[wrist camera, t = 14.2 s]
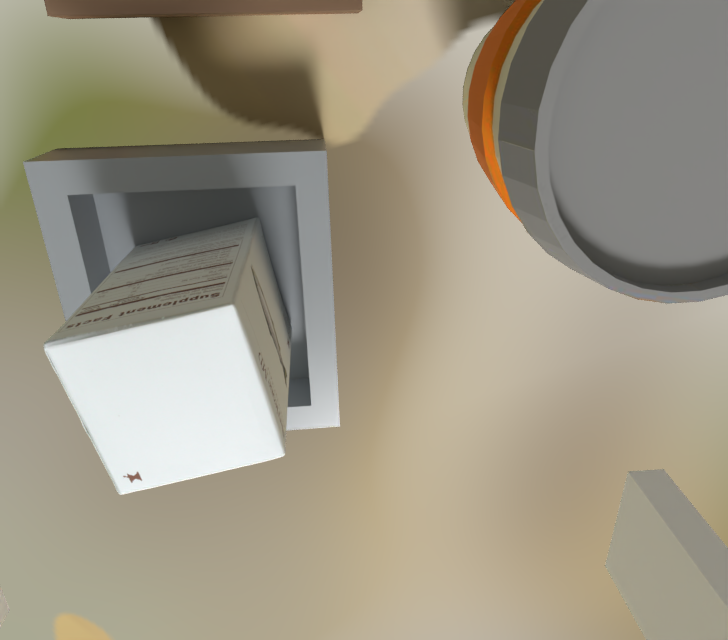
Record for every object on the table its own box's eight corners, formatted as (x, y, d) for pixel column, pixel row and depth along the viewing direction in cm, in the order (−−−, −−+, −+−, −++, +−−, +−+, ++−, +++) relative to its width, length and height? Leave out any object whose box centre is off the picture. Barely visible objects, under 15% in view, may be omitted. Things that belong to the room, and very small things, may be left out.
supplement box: (295, 328, 35) (290, 463, 23) (176, 355, 35) (113, 502, 24) (262, 212, 32) (237, 301, 20) (131, 241, 32) (33, 347, 20)
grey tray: (56, 148, 30) (23, 162, 26) (324, 139, 31) (326, 150, 28) (119, 405, 37) (98, 443, 33) (336, 390, 38) (339, 426, 34)
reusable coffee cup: (694, 105, 32) (976, 143, 19) (513, 249, 35) (644, 374, 21) (581, -106, 28) (848, -258, 14) (381, 80, 30) (443, 103, 17)
